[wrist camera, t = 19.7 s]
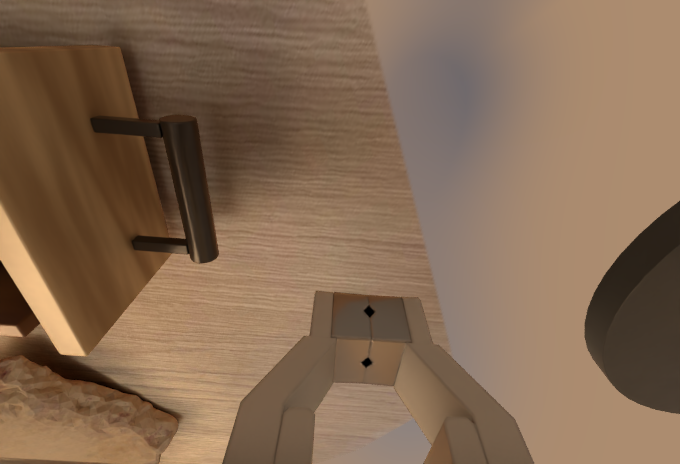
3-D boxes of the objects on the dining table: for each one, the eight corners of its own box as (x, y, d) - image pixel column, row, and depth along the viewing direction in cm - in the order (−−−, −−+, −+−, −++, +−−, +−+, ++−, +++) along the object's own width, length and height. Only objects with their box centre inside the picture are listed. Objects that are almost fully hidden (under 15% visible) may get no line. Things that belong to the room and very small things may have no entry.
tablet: (212, 423, 35) (13, 337, 25) (185, 512, 29) (-90, 446, 19) (96, 465, 43) (-86, 414, 33) (57, 540, 37) (-178, 506, 27)
